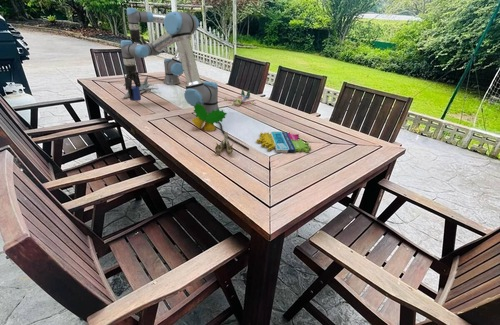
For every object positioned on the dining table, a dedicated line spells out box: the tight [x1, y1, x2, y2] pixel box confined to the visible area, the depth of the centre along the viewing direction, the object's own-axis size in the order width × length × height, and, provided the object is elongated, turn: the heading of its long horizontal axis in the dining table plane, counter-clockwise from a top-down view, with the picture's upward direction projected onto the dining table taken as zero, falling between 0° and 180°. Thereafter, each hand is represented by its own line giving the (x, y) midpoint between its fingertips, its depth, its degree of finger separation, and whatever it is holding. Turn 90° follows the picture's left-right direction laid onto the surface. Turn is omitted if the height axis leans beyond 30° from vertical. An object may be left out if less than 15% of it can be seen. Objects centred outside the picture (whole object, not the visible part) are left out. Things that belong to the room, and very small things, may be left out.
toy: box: [223, 89, 257, 106], centre depth 219 cm, size 28×7×30 cm
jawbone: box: [214, 131, 234, 156], centre depth 136 cm, size 9×15×10 cm
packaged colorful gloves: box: [256, 131, 312, 154], centre depth 152 cm, size 26×2×30 cm
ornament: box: [191, 102, 228, 132], centre depth 162 cm, size 21×8×15 cm, turn 105°
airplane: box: [121, 75, 158, 100], centre depth 222 cm, size 38×32×10 cm
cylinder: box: [128, 85, 142, 102], centre depth 191 cm, size 8×8×9 cm
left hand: (138, 57), depth 224 cm, fingers open, 13 cm apart
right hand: (135, 97), depth 193 cm, fingers closed on cylinder, 8 cm apart
